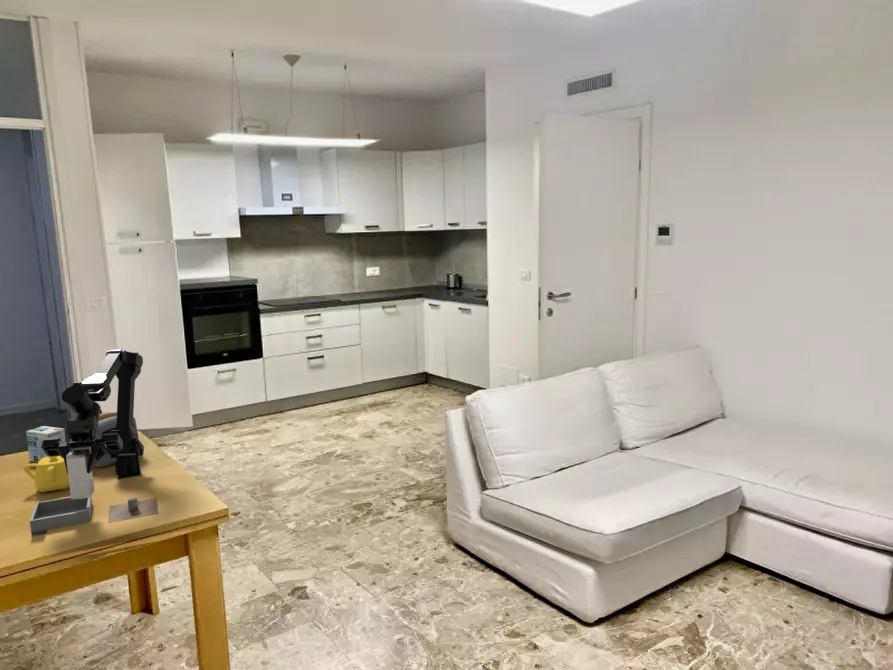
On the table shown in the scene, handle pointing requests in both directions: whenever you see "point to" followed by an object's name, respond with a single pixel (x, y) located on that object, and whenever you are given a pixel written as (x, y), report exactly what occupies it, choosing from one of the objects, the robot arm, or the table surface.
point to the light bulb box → (41, 440)
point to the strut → (79, 474)
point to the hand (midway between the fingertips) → (78, 473)
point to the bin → (59, 514)
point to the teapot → (49, 474)
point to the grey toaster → (105, 426)
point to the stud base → (126, 515)
